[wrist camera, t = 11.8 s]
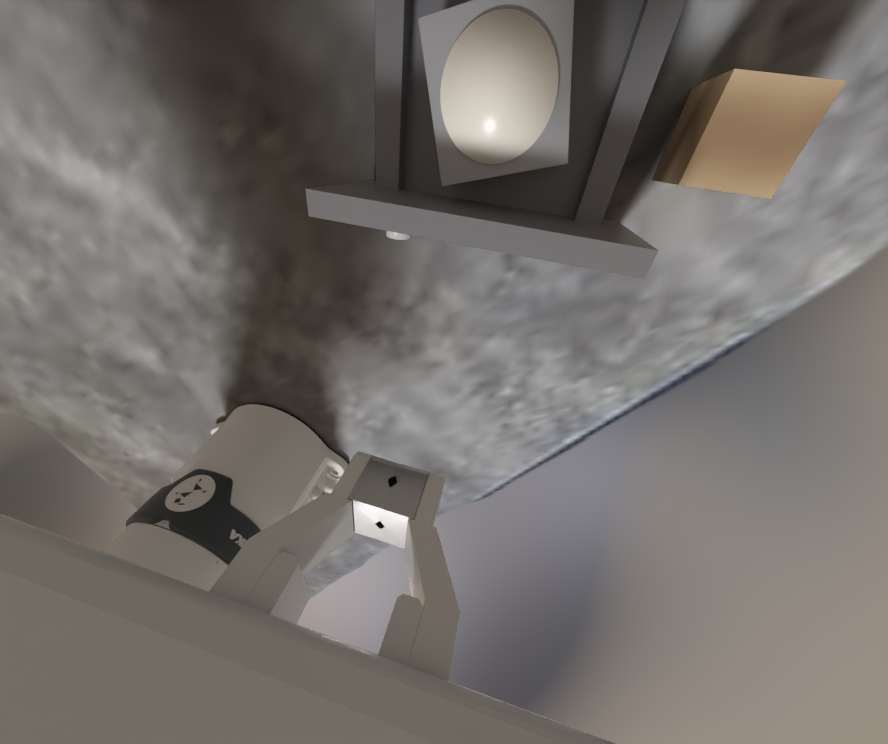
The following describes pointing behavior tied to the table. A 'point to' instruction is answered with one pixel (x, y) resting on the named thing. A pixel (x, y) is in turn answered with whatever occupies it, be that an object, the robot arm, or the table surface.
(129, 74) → the table surface
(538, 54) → the push button
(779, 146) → the block
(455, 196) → the tray
